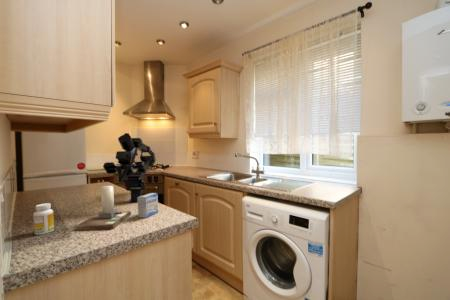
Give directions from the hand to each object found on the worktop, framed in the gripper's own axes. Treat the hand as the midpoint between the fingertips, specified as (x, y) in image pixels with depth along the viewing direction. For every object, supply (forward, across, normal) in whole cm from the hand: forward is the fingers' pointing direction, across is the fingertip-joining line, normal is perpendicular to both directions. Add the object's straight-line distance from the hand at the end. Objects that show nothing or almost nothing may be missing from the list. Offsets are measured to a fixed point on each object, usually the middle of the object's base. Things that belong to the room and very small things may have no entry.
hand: (120, 181), depth 98 cm
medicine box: (+14, +14, +5) cm, 21 cm away
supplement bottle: (+25, -17, -6) cm, 31 cm away
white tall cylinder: (+17, +1, 0) cm, 17 cm away
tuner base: (+19, 0, 0) cm, 19 cm away
